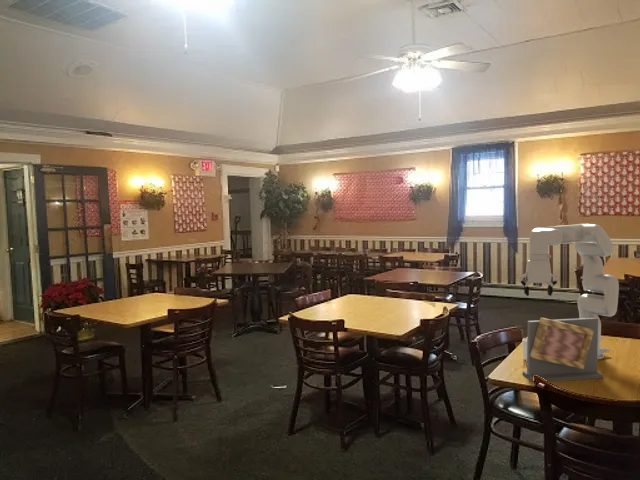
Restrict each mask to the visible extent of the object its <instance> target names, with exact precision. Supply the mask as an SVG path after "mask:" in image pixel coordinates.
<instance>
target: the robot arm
mask: <svg viewBox="0 0 640 480" xmlns="http://www.w3.org/2000/svg"><path fill="white" fill-rule="evenodd" d="M528 236H529V259H528V260H527V262H526V267H525V272H524V273H523V274H521V275H519V276H518V277H517V279H518V281H519V282H520V283H521V285H523V287H524V288H523V291H524V295H525V296H527V297H528V296H529V295H530V287H529V285H530V284H547V285H548V286H547V295H548V296H551V297H552V294H553V291H554V290H553V289H554V287H555V285H556V284H557V283H558V281H559V279H560V276H558V275H556V274H553V273H552V268H551V263H550V260H549V259H550V258H552V255H551V254H549V246H558V245H561V244H572V243H574V249H575V251H576V252H577V254H578V255H579V256H580V257H581V260H582V263H583V269H582V270H583V271H582V287H583V289H584V290H585V291H588V292H593V293H599V294H603V295H599V294H592V293H583V294H581V295H579V297H578V299H577V308H578V314H579V317H578V318H598V349H597V361H598V360H603V359H604V357H605V356H604V354H605V353H610V351H611V350H610V348H604V347H601V346H602V345H601V344H602V341H601V340H602V337H601V336H602V335H601V334H602V321H601V319H600V317H599V316H604V317H613V316H615V315H616V314H617V311H618V304H619V292H620V290H619V288H620V287H619V286H620V284H619V283H620V282H619V279H618V278H617V277H616V275H612V274H607V273H604V272H603V270H604V263H603V260H602V259H601V257H604V258H605V257H609V256H611V255H612V253H613V252H614V245H613V242H612V240H611V238H610V237H609V235H608V233H607V232H606V230H605V229H604V228H603V227H602V226H601V225H599V224H595V223H577V224H568V225H567V224H566V225H555V226H554V225H553V226H544V227H543V226H542V227H535V228H533V229H531V231H530V232H529V235H528ZM524 278H525V281H524ZM552 278H554V280H552Z"/></svg>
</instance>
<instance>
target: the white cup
mask: <svg viewBox="0 0 640 480" xmlns="http://www.w3.org/2000/svg"><path fill="white" fill-rule="evenodd" d="M522 357H523V360H524V361H526V362H527V337H523V338H522Z"/></svg>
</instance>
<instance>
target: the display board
mask: <svg viewBox="0 0 640 480" xmlns="http://www.w3.org/2000/svg"><path fill="white" fill-rule="evenodd" d="M554 320H555V321H559V322H564V323H568V324H573V325H577V326H581V327H586V328H590V329H593V330H594V333H593V336H592V340H591V343H590V347H589V351H588V354H587V358H586V362H585V365H584V369H581V368H576V367H572V366H567V365H563V364H558V363H553V362H549V361H544V360H540V359H535V358H532V357H531V356H530V354H531V351H532V347H533V343H534V339H535V336H536V332H537V328H538V325H539V321H540V319H539V320H536V319H535V320H527V322H526V323H527V324H526V325H527V333H526V334H527V335H526V338H527V361H526V370H522V375H523V376H524V377H526V378H528V379H529V380H530V381H531V380H532V382H533V376H534V375H538V376H540V377H542V378H544V379H545V380H547V381H546V382H558V381H560V382H561V381H576V380H594V379H595V380H596V379H603V377H604V376H603V374H602V373H601V372H598V360H597V349H598V318H579V317H578V318H560V319H559V318H558V319H554Z"/></svg>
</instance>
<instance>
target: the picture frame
mask: <svg viewBox="0 0 640 480" xmlns="http://www.w3.org/2000/svg"><path fill="white" fill-rule="evenodd" d="M539 320H540V321H539V325H538V328H537V332H536V336H535V339H534V343H533V347H532V351H531V354H530V356H531V357H532V358H535V359H540V360H544V361H549V362H553V363H558V364H563V365H567V366H572V367H576V368H581V369H584V365H585V362H586V358H587V354H588V351H589V347H590V343H591V340H592V336H593V333H594V330H593V329H590V328H586V327H581V326H577V325H573V324H568V323H564V322H559V321H555V320H556V319H550V318H546V317H540V318H539Z"/></svg>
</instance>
